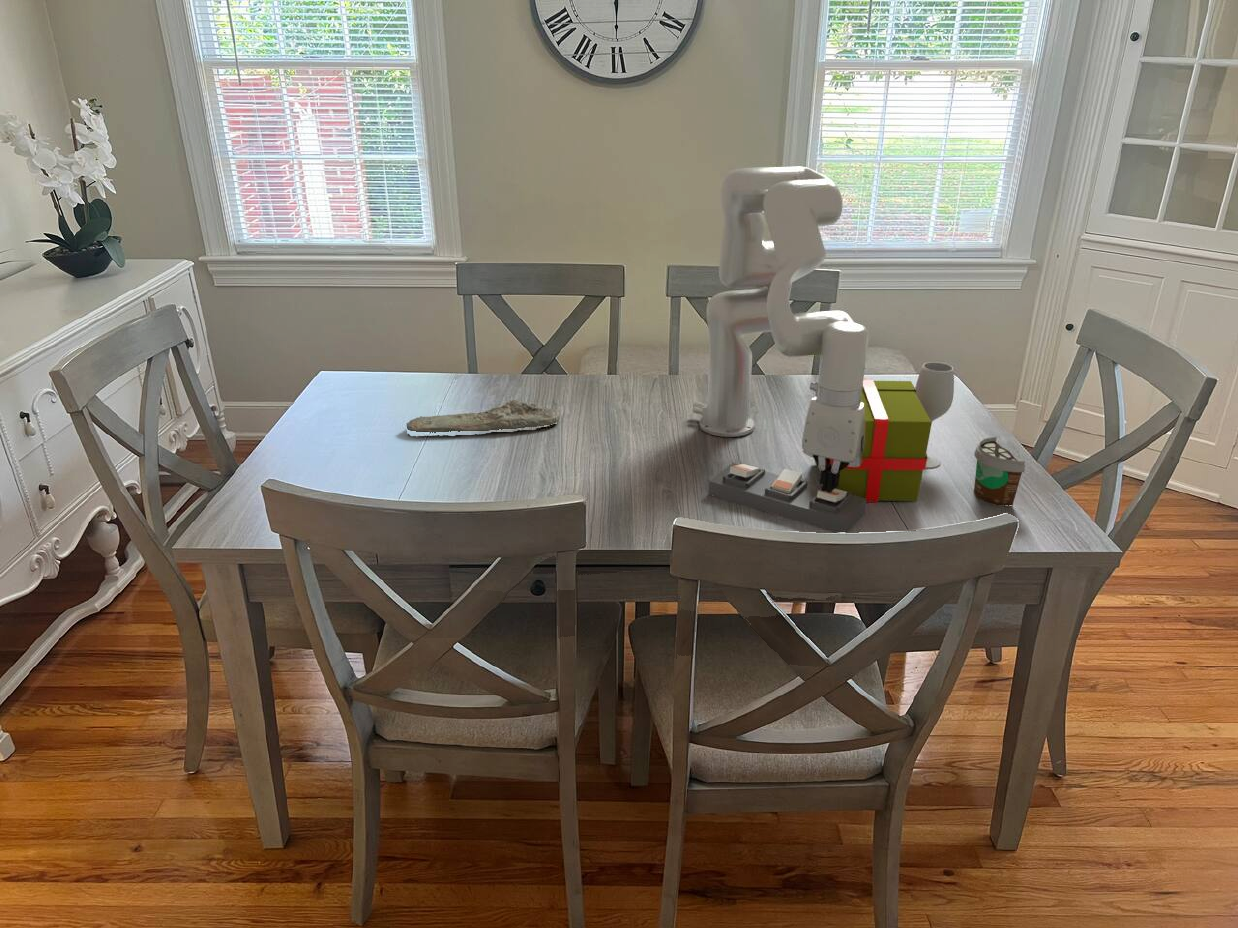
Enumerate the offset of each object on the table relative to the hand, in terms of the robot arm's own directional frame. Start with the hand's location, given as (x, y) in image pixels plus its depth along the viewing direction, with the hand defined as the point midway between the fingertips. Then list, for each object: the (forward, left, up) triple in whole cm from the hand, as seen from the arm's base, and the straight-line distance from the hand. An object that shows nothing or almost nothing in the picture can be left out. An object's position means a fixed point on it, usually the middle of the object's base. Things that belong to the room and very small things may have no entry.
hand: (828, 489), depth 160 cm
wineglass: (+7, +36, -7) cm, 38 cm away
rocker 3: (0, +2, -2) cm, 3 cm away
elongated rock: (-82, -2, -7) cm, 83 cm away
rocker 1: (-18, +2, -2) cm, 18 cm away
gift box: (-1, +22, -7) cm, 23 cm away
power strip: (-9, +2, -7) cm, 12 cm away
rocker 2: (-9, +2, -2) cm, 10 cm away
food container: (+22, +27, -7) cm, 36 cm away
